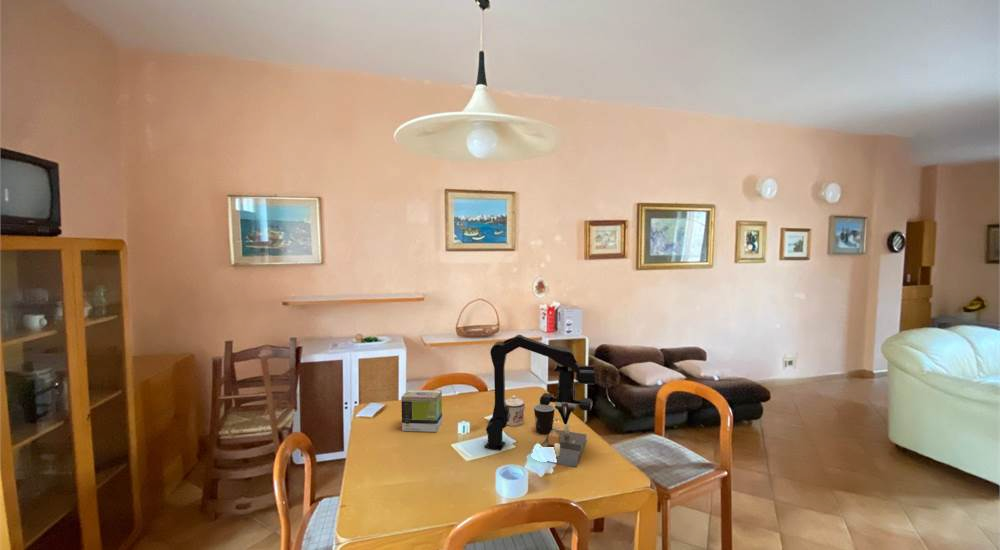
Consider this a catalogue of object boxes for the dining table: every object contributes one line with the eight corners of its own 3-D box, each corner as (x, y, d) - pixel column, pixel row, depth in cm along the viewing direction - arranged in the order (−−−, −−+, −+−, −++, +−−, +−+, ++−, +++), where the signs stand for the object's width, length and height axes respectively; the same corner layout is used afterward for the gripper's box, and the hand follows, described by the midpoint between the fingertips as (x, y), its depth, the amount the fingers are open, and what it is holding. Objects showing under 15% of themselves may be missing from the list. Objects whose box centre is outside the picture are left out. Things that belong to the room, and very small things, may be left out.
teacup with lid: (515, 428, 175) (515, 401, 174) (498, 422, 181) (499, 396, 180) (532, 420, 184) (532, 394, 183) (516, 414, 190) (516, 389, 189)
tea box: (442, 423, 180) (442, 389, 180) (436, 433, 170) (436, 397, 170) (408, 421, 182) (408, 388, 181) (401, 431, 172) (400, 396, 171)
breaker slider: (557, 446, 153) (557, 436, 153) (548, 444, 154) (548, 435, 154) (559, 441, 156) (560, 432, 156) (550, 440, 158) (550, 431, 158)
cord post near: (559, 457, 145) (559, 445, 145) (553, 456, 146) (553, 445, 146) (560, 454, 147) (560, 443, 147) (554, 453, 148) (555, 442, 148)
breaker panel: (576, 467, 143) (576, 459, 143) (537, 460, 148) (537, 452, 148) (586, 440, 164) (586, 434, 164) (551, 435, 169) (551, 428, 169)
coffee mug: (553, 436, 167) (554, 412, 167) (532, 434, 169) (532, 410, 168) (555, 425, 179) (556, 402, 178) (535, 423, 180) (535, 400, 180)
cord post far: (568, 437, 161) (568, 427, 161) (563, 436, 162) (563, 426, 162) (569, 435, 163) (569, 425, 163) (564, 434, 164) (564, 424, 163)
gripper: (594, 379, 159) (594, 419, 159) (546, 374, 165) (546, 413, 166) (590, 388, 148) (589, 431, 149) (539, 382, 155) (539, 423, 155)
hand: (565, 424), depth 155 cm, fingers closed
